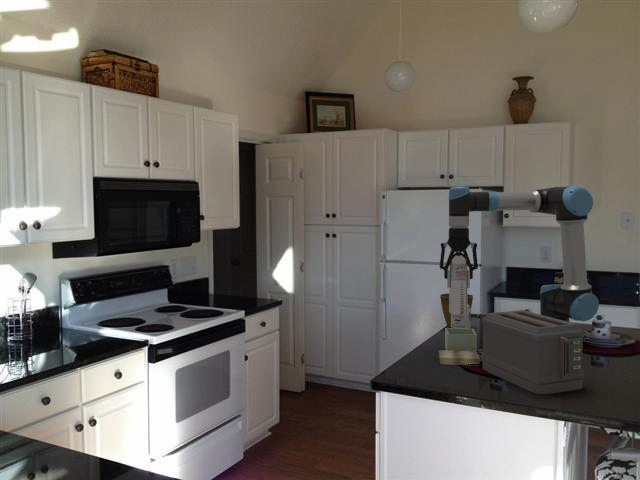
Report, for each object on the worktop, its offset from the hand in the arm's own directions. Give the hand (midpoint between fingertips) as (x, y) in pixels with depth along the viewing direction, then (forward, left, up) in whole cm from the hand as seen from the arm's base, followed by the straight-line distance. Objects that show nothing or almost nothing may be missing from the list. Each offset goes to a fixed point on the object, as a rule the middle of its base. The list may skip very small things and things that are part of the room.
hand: (458, 287), depth 224 cm
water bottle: (0, 0, -10) cm, 10 cm away
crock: (-1, -7, -27) cm, 28 cm away
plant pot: (-3, -47, -27) cm, 55 cm away
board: (+1, +7, -27) cm, 28 cm away
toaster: (-21, +26, -27) cm, 43 cm away
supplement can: (-3, -27, -27) cm, 38 cm away
